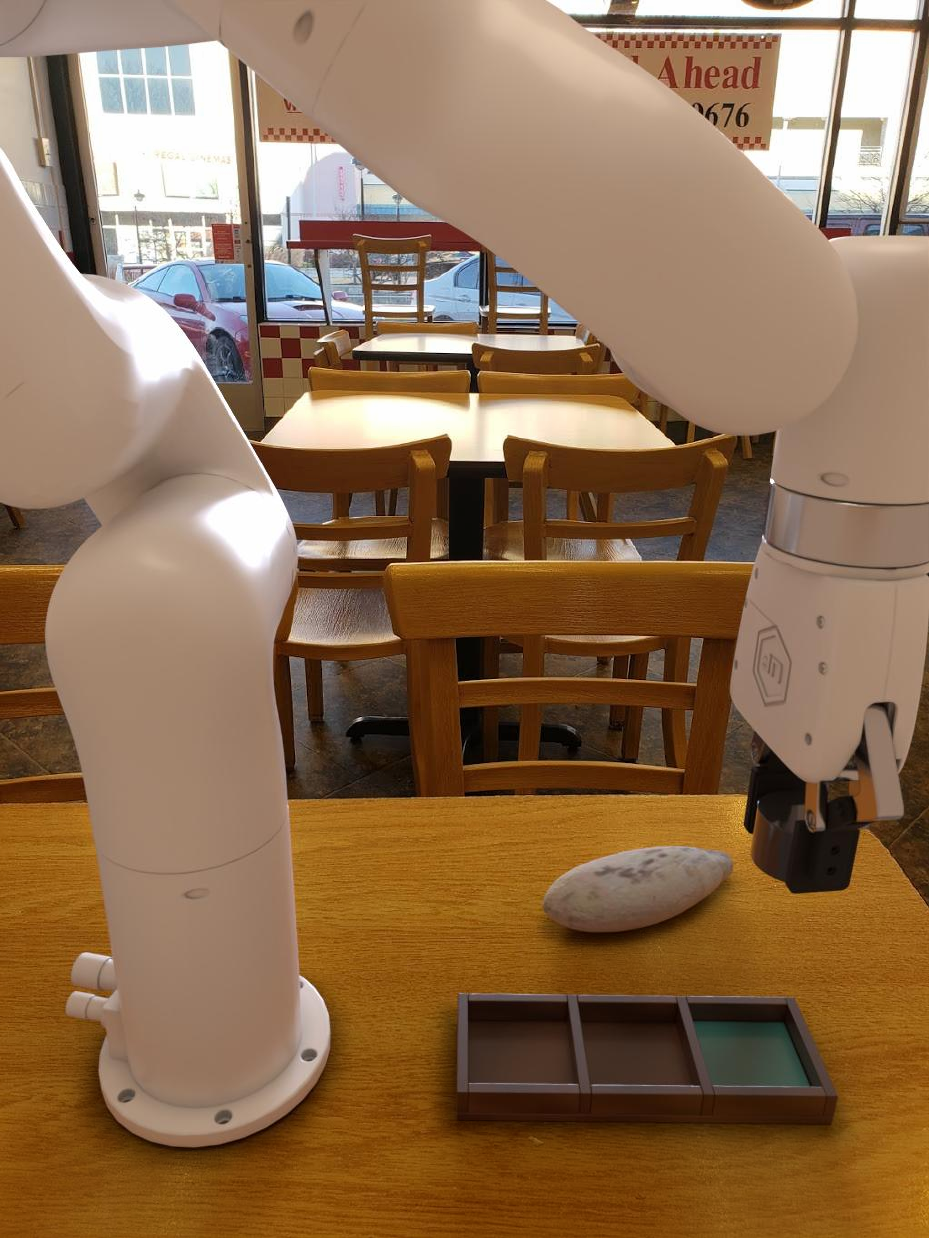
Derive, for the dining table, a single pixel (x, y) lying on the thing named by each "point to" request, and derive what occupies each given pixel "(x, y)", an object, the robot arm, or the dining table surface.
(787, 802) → the dark gray cylinder
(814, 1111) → the divided tray
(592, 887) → the decorative stone
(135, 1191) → the dining table surface
